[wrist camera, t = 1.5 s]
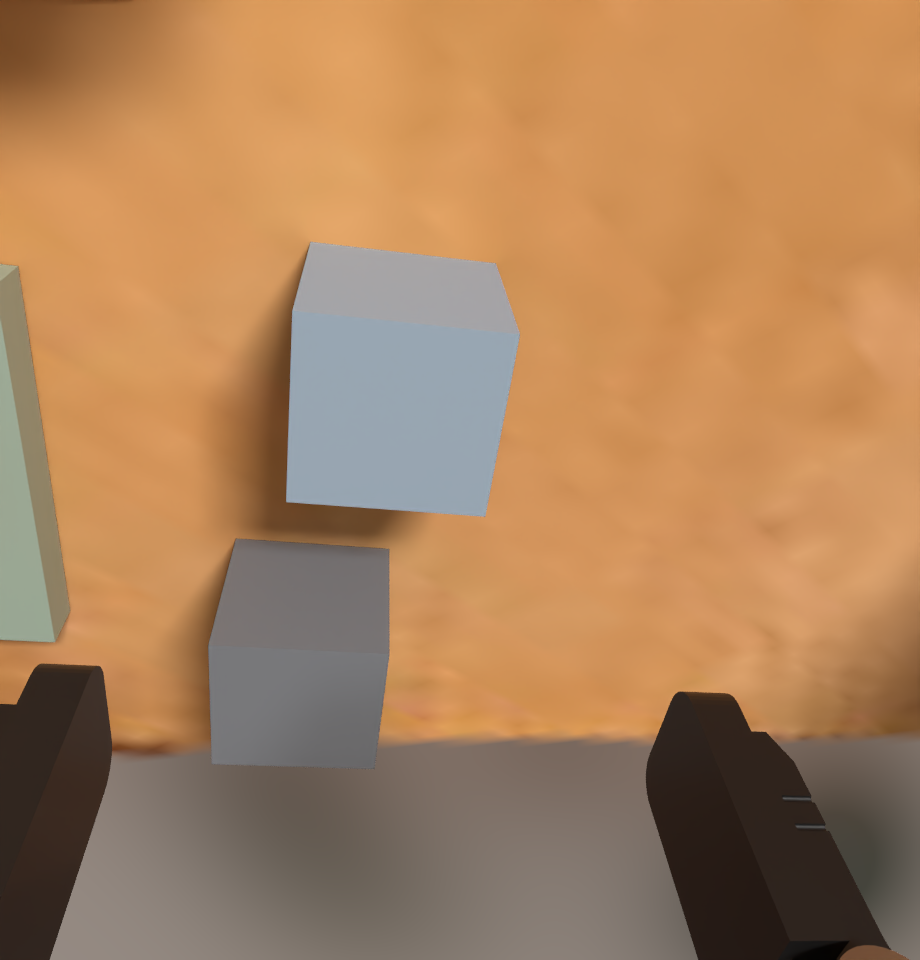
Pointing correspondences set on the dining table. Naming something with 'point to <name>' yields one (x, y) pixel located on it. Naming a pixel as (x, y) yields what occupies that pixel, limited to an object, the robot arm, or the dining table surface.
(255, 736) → the slate brick
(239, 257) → the dining table surface
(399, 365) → the blue brick
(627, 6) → the dining table surface
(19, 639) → the build plate
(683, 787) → the robot arm
